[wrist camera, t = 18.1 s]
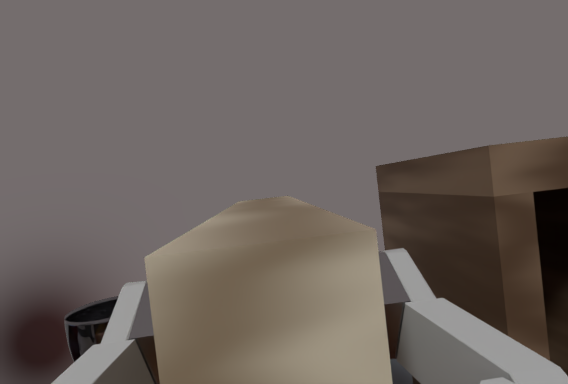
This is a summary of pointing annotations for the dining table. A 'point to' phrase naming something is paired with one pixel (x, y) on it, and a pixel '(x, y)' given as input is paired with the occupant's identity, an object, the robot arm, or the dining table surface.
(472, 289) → the shelf high
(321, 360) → the light wooden bar
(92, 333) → the wine glass
